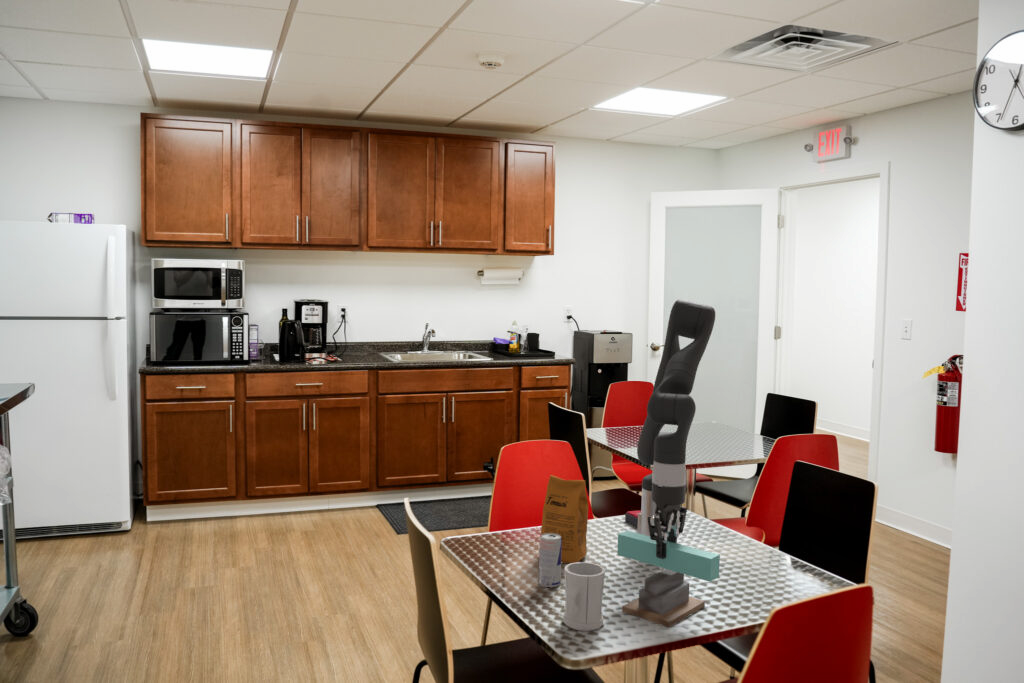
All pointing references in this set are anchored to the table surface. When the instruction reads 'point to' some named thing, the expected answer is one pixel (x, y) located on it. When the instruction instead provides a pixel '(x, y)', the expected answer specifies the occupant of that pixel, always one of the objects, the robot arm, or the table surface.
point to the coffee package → (567, 516)
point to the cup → (583, 596)
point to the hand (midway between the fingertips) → (666, 555)
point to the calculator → (632, 517)
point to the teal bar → (670, 556)
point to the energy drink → (550, 560)
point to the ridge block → (664, 599)
